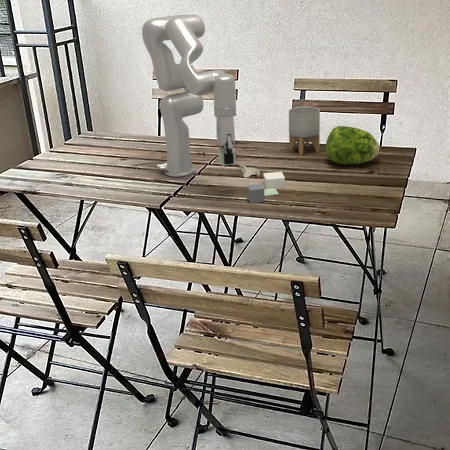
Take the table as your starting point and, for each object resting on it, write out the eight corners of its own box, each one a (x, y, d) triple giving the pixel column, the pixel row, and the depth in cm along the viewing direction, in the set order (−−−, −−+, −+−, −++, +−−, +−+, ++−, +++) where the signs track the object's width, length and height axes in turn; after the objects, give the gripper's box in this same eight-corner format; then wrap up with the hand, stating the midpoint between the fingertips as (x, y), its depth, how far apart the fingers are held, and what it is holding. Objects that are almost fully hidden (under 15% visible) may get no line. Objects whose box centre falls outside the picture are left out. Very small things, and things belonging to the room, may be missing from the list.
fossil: (245, 180, 244) (244, 171, 243) (237, 171, 254) (237, 163, 252) (262, 177, 245) (261, 169, 244) (254, 168, 255) (253, 160, 254)
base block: (266, 189, 233) (266, 179, 231) (263, 183, 239) (263, 173, 238) (285, 188, 233) (284, 178, 232) (281, 181, 240) (281, 171, 238)
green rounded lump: (377, 176, 246) (390, 138, 242) (326, 162, 244) (338, 124, 240) (366, 168, 262) (378, 132, 258) (318, 155, 259) (330, 119, 255)
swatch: (262, 196, 226) (262, 195, 226) (258, 190, 232) (258, 189, 231) (278, 194, 227) (278, 193, 227) (274, 188, 232) (274, 187, 232)
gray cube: (250, 203, 221) (250, 190, 219) (247, 198, 226) (247, 185, 224) (264, 201, 222) (264, 188, 220) (261, 196, 227) (260, 183, 225)
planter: (285, 154, 268) (285, 113, 260) (293, 145, 279) (293, 106, 271) (315, 156, 264) (315, 114, 256) (322, 147, 274) (322, 106, 267)
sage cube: (221, 165, 222) (221, 152, 219) (219, 161, 226) (218, 147, 224) (235, 164, 222) (235, 150, 220) (232, 159, 227) (232, 146, 225)
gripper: (210, 106, 223) (212, 154, 231) (219, 118, 208) (221, 170, 216) (230, 104, 224) (232, 152, 232) (241, 116, 209) (242, 168, 217)
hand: (227, 160), depth 224 cm, fingers closed on sage cube, 5 cm apart
